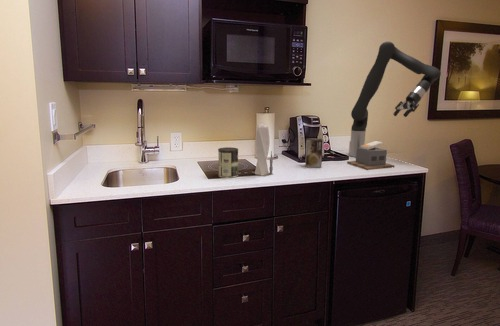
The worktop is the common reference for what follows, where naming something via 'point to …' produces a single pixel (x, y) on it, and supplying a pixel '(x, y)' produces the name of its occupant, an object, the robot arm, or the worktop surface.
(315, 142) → the coffee box
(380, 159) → the switch block
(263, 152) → the skyscraper
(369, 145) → the rocker
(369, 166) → the base board
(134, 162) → the worktop surface
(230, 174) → the coffee can
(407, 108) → the robot arm
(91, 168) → the worktop surface
